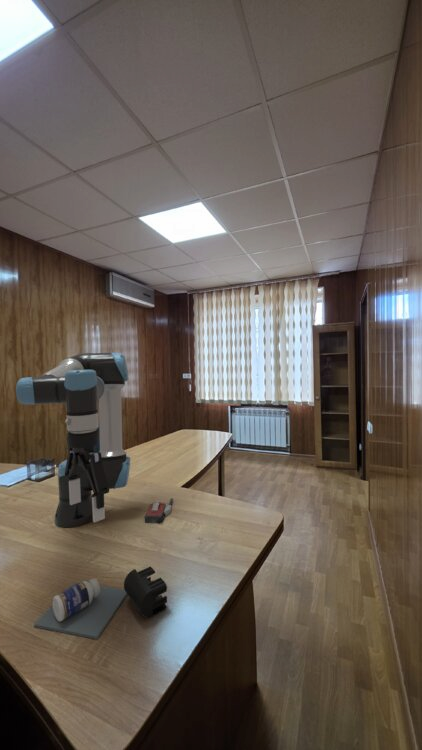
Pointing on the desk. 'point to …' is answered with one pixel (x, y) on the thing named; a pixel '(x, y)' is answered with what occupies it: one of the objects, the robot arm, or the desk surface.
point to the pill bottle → (75, 599)
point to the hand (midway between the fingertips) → (86, 511)
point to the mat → (86, 615)
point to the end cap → (146, 592)
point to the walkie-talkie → (158, 512)
